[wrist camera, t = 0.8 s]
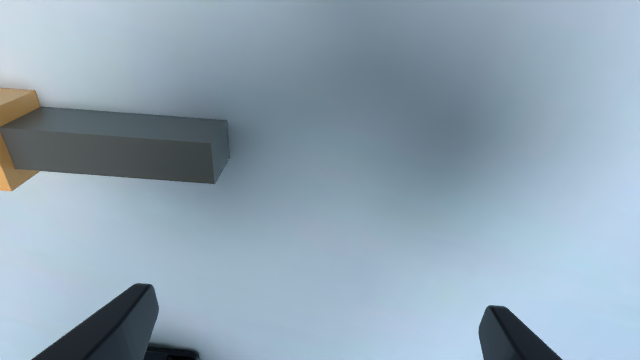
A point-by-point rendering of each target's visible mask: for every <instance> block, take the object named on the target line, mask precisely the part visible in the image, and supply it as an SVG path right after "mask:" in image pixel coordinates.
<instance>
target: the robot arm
mask: <svg viewBox="0 0 640 360" xmlns="http://www.w3.org/2000/svg"><path fill="white" fill-rule="evenodd" d="M158 312H159V306H158V302H157V298H156V294H155V290H154V287H153V286H152V285H151V284H141V283H137V284H134V285H132V286H131V287H130V288H128V289H127V290H126V291H124V292H123V293H121V294H120V295H119V296H117V297H116V298H115V299H113V300H112V301H111V302H109V303H108V304H106V305H105V306H104V307H102V308H101V309H100V310H98V311H97V312H96V313H94V314H93V315H91V316H90V317H89V318H87V319H86V320H85V321H83V322H82V323H81V324H79V325H78V326H76V327H75V328H74V329H72V330H71V331H70V332H68V333H67V334H66V335H64V336H63V337H61V338H60V339H59V340H57V341H56V342H55V343H53V344H52V345H51V346H49V347H48V348H46V349H45V350H44V351H42V352H41V353H40V354H38V355H37V356H36V357H34V358H33V359H31V360H199V357H198V355H197V354H196V353H194V352H191V351H178V350H166V349H153V348H147V346H148V343H149V340H150V337H151V334H152V331H153V328H154V325H155V322H156V319H157V316H158ZM479 339H480V344H481V348H482V353H483V358H484V360H562V359H561V358H560V357H559V356H558V355H557V354H556V353H555V352H554V351H553V350H552V349H551V348H549V347H548V346H547V345H546V344H545V343H544V342H543V341H542V340H541V339H540V338H539V337H538V336H537V335H536V334H534V333H533V332H532V331H531V330H530V329H529V328H528V327H527V326H526V325H525V324H524V323H523V322H522V321H521V320H519V319H518V318H517V317H516V316H515V315H514V314H513V313H512V312H511V311H510V310H509V309H508V308H506V307H504V306H494V305H490V306H488V307H487V308H486V310H485V312H484V315H483V317H482V320H481V323H480V325H479Z"/></svg>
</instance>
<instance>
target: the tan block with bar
mask: <svg viewBox="0 0 640 360" xmlns="http://www.w3.org/2000/svg"><path fill="white" fill-rule="evenodd" d="M229 158H230V157H229V143H228V130H227V120H216V119H202V118H188V117H175V116H161V115H147V114H133V113H120V112H106V111H92V110H78V109H65V108H51V107H41V106H40V103H39V100H38V97H37V94H36V91H35V90H22V89H8V88H0V190H3V191H13V190H14V189H16V188H17V187H18V186H20V185H21V184H23V183H24V182H25V181H27V180H28V179H30V178H31V177H33V176H34V175H35V174H37V173H38V172H40V171H49V172H62V173H75V174H89V175H102V176H116V177H129V178H142V179H156V180H169V181H182V182H196V183H209V184H215V183H216V181H217V179H218V177H219V175H220V174H221V172H222V170H223V168H224V167H225V165H226V163H227V161H228V159H229Z"/></svg>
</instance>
